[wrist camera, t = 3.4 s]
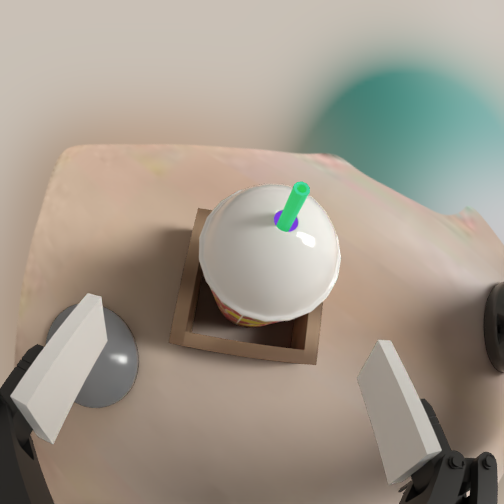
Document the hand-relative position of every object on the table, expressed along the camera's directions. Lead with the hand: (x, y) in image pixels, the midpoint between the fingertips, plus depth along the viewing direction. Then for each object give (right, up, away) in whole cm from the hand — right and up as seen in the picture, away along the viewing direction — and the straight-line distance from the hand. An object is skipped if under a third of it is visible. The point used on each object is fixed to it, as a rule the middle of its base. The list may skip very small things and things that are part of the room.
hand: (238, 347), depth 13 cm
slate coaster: (-16, -7, +13) cm, 21 cm away
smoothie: (0, 0, +17) cm, 17 cm away
